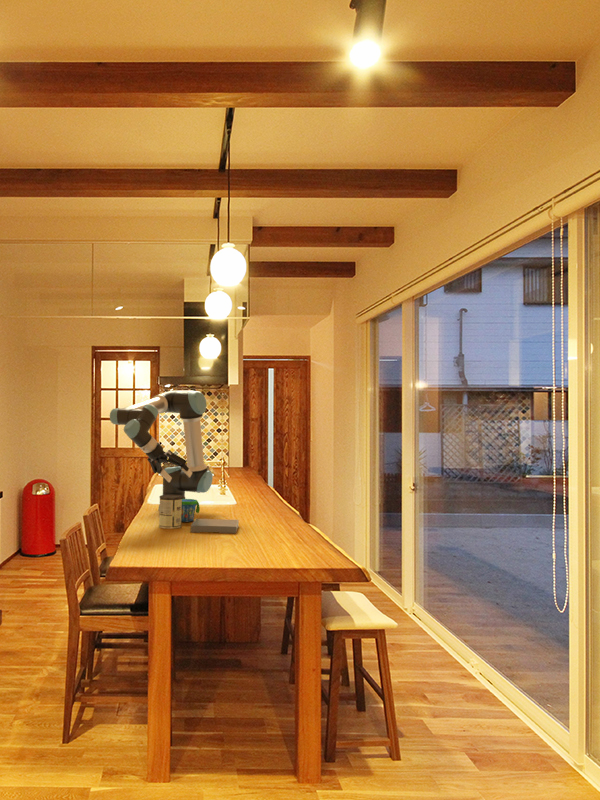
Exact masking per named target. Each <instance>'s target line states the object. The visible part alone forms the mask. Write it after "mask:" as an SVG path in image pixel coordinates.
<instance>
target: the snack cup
mask: <svg viewBox="0 0 600 800" xmlns="http://www.w3.org/2000/svg"><path fill="white" fill-rule="evenodd" d="M200 510H201V509H200V503H199V501H198V500H197V499H193V498H186V499H182V515H181V523H189V522H194V520H195V515H196V513H197V514H199V513H200Z"/></svg>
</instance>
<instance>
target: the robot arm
mask: <svg viewBox="0 0 600 800" xmlns="http://www.w3.org/2000/svg"><path fill="white" fill-rule="evenodd" d="M206 411H207V400H206V397H205V394H203V393H202V392H201V391H198V390H176V389H175V390H169V391H166V392H165V391H164V392H162V393H160V394H155V395H154V396H153V397H152V398H150V399H147V400H145V401H142V402H139V403H138V402H137V403H135V404H132V405H129V406H126V407H122V408H120V407H118V408H115V407H114V408H112V409H111V411H110V412H109V420H110V423H111V424H113V425H118V426H120V425H121V426H124V427H123V433H125V434H126V436H127V437H128V438H129V439H130V440H131V441H132V442H133V443H134V444H135V445H136V446H138V447H139V449H140V450H141V451H142V452H143V453H145V455H146V456H147V457H148V458H147V459H146V460H147V461H148V463H149V464H150V467H151V470H152V473H153V474H159V475H160V476H161V477H162V495H181V496H182V499H187V498H186V492H190V493H197V494H201V493H203V494H204V493H207V492H208V491H209V490H210V488H211V487H212V483H213V478H214V475H213V473H212V471H211V470H208V465H207V464H206V463H205V460H204V459H205V458H204V448H203V437H202V427H201V426H202V425H201V419H202V418H203V416H204V413H206ZM165 413H174V414H179V419H180V420H182V422H183V432H184V441H185V442H184V443H185V452H186V453H185V454H186V455H185V456H186V459H184V458H183V457H181V456H179V455H178V454H176V453H173V452H172V451H171V450H170V449H167V451H164V447H163V446H162V445H161V444H160V443H159V442H158V441H157V440H156V438H155V437H153V435H152V434H150V432H149V431H150V429H151V428H152V426H153V424H154V422H156V419H157V418H158V415H159V414H165ZM163 463H169V464H172V465H174V466H170V467H166V468H163V467H162V464H163ZM186 463H187V464H186ZM159 509H160V503H159V504H158V510H159Z"/></svg>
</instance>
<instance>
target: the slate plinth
mask: <svg viewBox="0 0 600 800" xmlns="http://www.w3.org/2000/svg"><path fill="white" fill-rule="evenodd" d="M239 520H240V519H226V518H225V519H223V518H221V519H220V518H217V519H216V518H194V520H193V521H192V523H191V524H190V533H200V532H219V533H218V534H237V532H238V529H239V523H240V522H239Z"/></svg>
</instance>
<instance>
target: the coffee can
mask: <svg viewBox="0 0 600 800" xmlns="http://www.w3.org/2000/svg"><path fill="white" fill-rule="evenodd" d="M159 504H160V509H159V508H158V511H159V513H158V514H159V515H158V517H159V518H158V528H161V529H165V530H167V529H170V530H172V529H180V528H182V522H181V515H182V496H181V495H163V494H162V495H160V496H159Z"/></svg>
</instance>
